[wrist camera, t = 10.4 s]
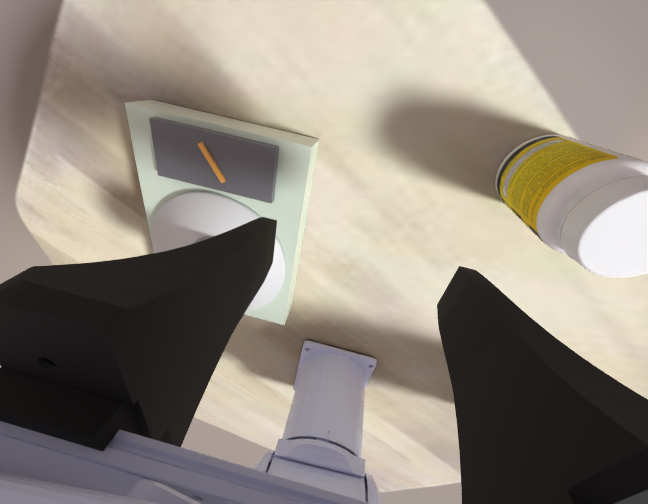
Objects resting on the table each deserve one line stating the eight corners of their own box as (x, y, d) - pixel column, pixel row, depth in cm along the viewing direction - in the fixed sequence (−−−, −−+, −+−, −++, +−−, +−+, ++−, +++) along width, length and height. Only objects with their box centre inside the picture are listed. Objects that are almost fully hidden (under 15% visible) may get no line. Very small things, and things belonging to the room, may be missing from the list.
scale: (291, 306, 27) (281, 331, 25) (177, 276, 28) (155, 297, 25) (319, 139, 19) (308, 149, 16) (152, 99, 19) (113, 103, 16)
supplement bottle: (481, 201, 19) (540, 273, 12) (514, 127, 16) (615, 164, 9) (553, 213, 19) (659, 295, 12) (600, 140, 16) (771, 188, 9)
